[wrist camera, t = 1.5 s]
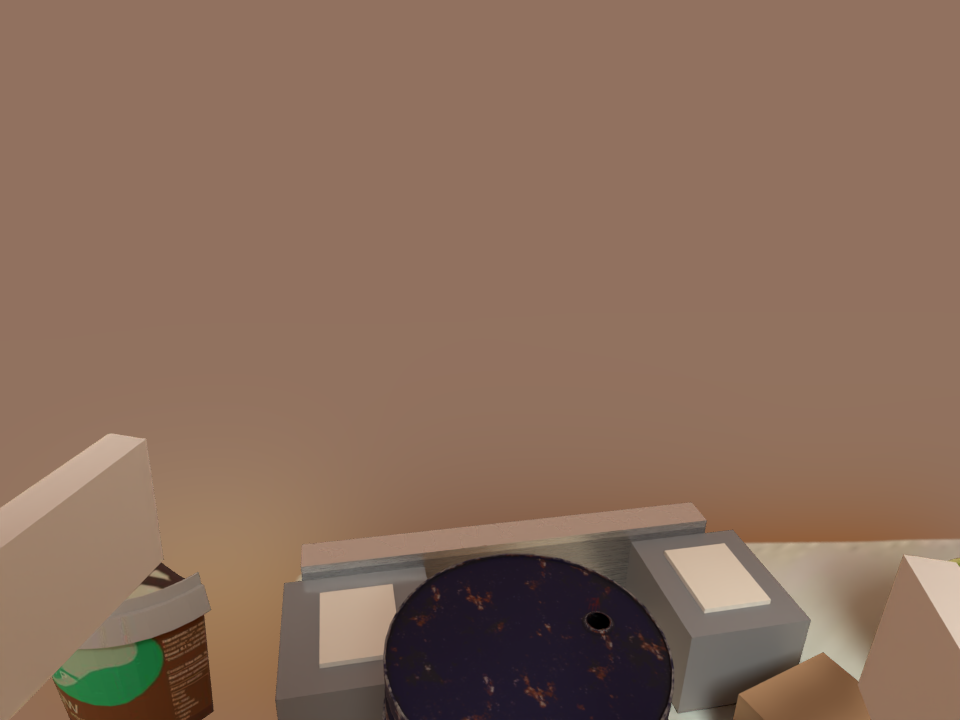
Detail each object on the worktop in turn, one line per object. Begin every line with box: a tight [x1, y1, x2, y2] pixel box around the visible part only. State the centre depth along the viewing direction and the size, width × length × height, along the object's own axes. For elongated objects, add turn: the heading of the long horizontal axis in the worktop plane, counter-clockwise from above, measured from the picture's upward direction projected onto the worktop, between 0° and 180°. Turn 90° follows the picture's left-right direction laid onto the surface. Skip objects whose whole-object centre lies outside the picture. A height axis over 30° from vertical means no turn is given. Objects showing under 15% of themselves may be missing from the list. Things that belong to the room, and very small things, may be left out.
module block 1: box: [275, 566, 427, 720], centre depth 38 cm, size 8×8×6 cm
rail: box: [301, 502, 707, 588], centre depth 44 cm, size 2×25×6 cm, turn 102°
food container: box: [52, 563, 213, 720], centre depth 36 cm, size 12×6×10 cm, turn 55°
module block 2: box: [625, 530, 811, 713], centre depth 42 cm, size 8×7×6 cm
